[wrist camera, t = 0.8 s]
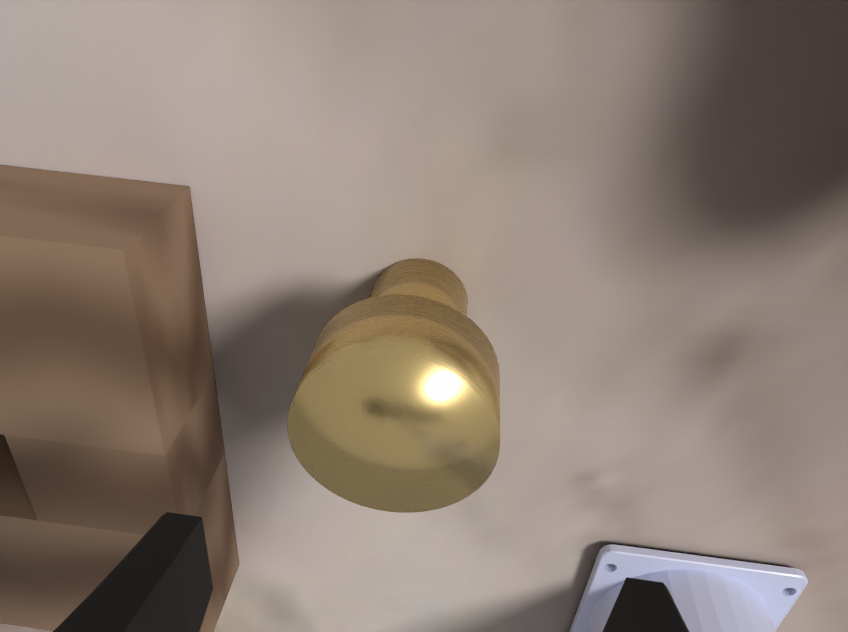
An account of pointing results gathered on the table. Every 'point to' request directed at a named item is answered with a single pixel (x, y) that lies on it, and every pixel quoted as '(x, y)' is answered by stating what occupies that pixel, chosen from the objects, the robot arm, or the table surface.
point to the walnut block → (101, 388)
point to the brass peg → (400, 396)
